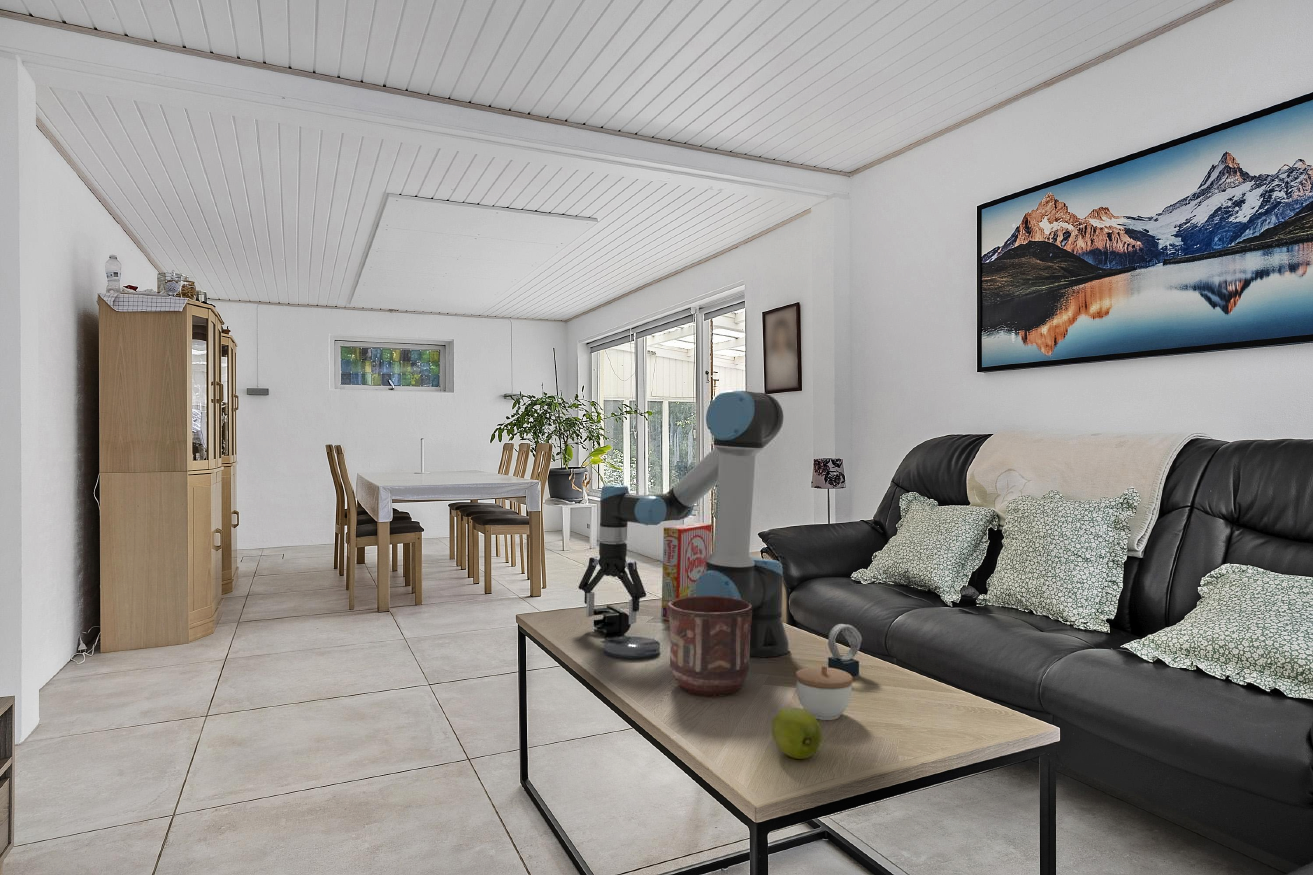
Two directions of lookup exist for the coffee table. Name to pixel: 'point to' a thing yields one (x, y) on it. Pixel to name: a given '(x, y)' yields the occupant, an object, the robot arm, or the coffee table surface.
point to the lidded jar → (824, 691)
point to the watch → (846, 661)
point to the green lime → (796, 732)
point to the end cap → (611, 622)
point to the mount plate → (631, 648)
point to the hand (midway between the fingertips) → (610, 619)
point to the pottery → (710, 643)
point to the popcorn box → (683, 560)
